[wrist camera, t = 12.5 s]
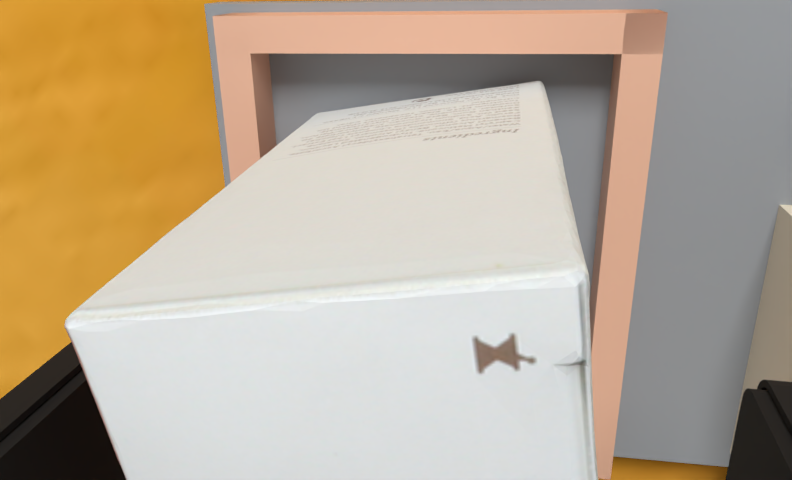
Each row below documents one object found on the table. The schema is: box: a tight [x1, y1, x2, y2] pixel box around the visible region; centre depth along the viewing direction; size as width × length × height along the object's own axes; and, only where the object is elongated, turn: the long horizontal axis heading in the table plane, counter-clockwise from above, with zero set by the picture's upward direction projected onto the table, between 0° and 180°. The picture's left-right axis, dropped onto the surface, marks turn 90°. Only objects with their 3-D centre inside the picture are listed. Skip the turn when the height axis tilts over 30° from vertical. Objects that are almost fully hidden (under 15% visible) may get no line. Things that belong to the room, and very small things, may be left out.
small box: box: [65, 81, 598, 480], centre depth 13 cm, size 8×6×10 cm
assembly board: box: [204, 0, 792, 479], centre depth 15 cm, size 18×12×6 cm, turn 91°
